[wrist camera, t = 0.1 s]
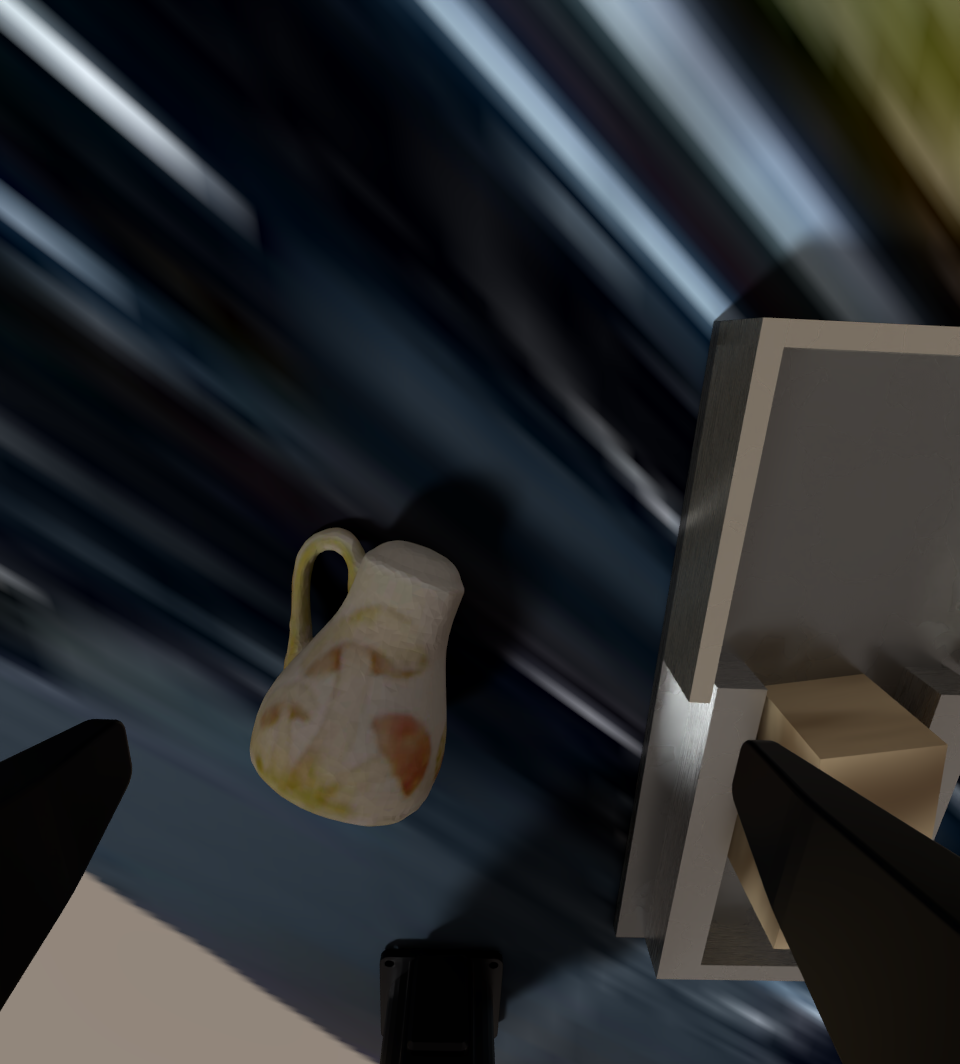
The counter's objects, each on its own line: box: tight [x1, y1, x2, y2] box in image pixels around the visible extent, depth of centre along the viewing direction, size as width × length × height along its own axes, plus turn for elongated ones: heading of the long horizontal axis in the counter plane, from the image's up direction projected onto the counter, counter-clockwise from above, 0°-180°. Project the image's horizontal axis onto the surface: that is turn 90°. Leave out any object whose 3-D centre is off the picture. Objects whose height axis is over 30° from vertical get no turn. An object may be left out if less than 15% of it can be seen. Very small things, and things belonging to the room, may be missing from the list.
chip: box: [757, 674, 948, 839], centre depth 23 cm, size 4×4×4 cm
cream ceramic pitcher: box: [250, 528, 464, 826], centre depth 21 cm, size 8×10×10 cm
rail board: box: [613, 318, 960, 981], centre depth 23 cm, size 30×14×4 cm, turn 177°
